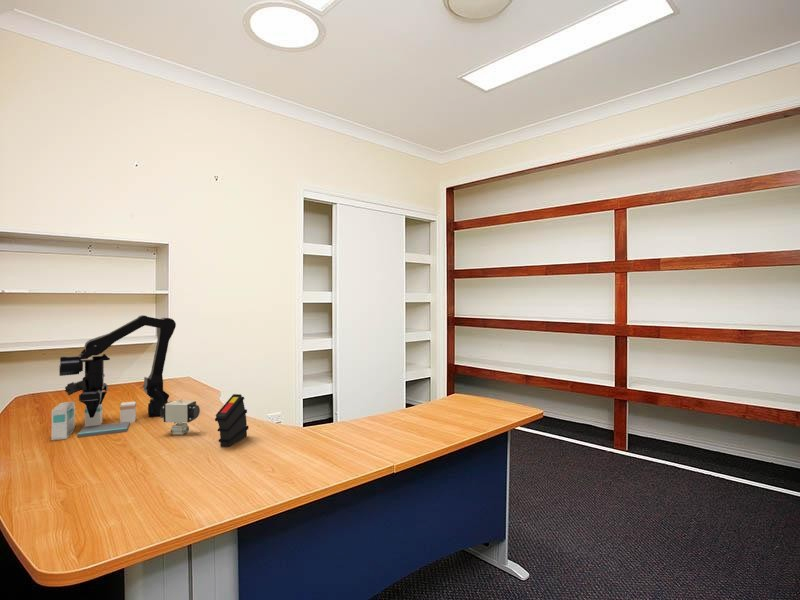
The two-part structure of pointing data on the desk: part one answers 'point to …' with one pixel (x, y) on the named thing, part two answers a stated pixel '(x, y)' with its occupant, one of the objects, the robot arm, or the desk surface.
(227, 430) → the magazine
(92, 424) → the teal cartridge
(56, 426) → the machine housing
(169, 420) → the pneumatic valve
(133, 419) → the light grey boxy piece
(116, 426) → the plate
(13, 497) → the desk surface
